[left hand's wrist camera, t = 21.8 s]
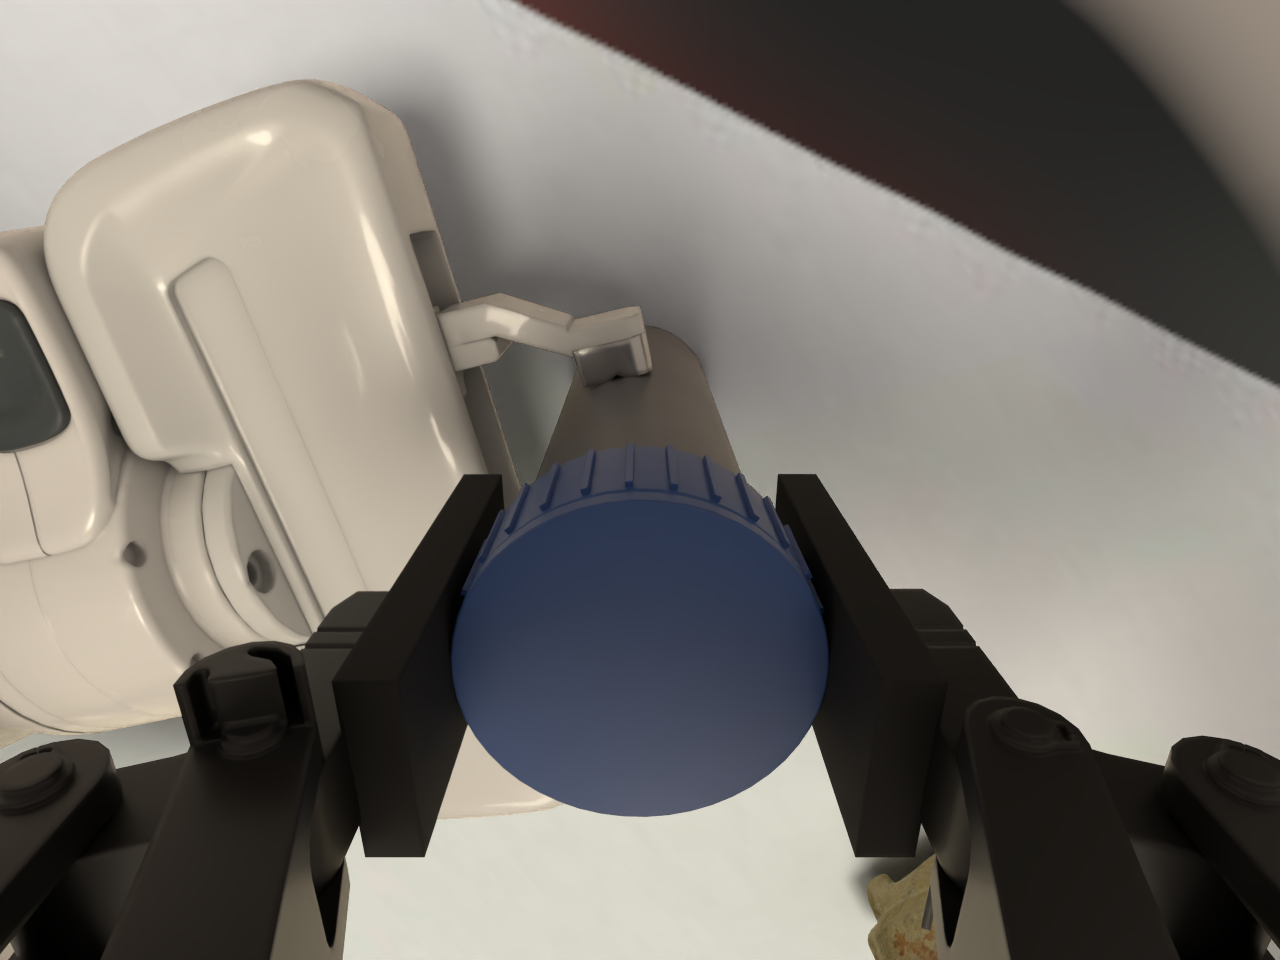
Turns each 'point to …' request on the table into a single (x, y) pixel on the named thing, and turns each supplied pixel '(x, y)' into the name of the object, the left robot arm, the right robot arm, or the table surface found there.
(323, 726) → the left robot arm
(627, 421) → the jar
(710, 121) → the table surface
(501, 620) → the lid
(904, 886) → the sculpture
